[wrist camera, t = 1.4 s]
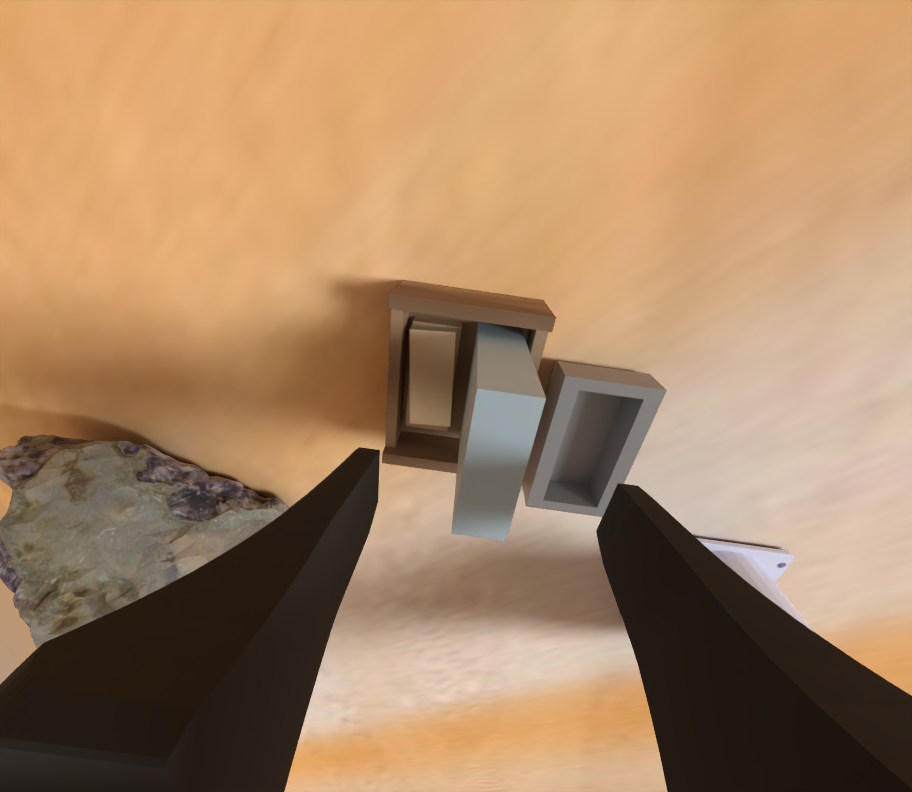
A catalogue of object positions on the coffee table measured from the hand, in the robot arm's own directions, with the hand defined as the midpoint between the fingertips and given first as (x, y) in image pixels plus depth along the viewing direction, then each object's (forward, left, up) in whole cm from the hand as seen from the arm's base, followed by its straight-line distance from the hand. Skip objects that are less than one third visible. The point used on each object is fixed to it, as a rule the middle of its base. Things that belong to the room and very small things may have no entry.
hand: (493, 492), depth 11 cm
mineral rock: (-10, +17, -9) cm, 22 cm away
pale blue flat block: (0, 0, -8) cm, 8 cm away
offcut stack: (0, +3, -8) cm, 8 cm away
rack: (0, +1, -9) cm, 9 cm away
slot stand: (-3, -6, -9) cm, 11 cm away
